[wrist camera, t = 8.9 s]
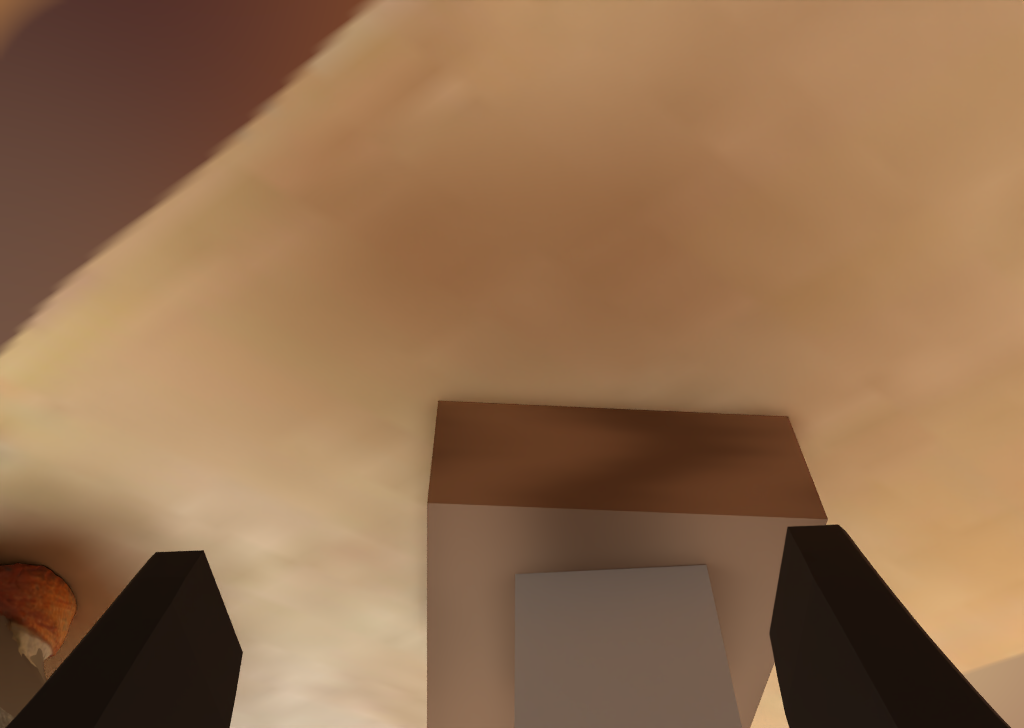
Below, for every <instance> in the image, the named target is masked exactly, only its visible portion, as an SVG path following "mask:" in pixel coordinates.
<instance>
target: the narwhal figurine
mask: <svg viewBox="0 0 1024 728" xmlns="http://www.w3.org/2000/svg"><path fill="white" fill-rule="evenodd" d="M76 608H77V606H76V600H75V598H74V595H73V593H72V592H71V589H70V588H69V587H68V585H67V584H66V583H65V581H64V580H63V579H62V578H60V577H58V576H56V575H55V574H54V573H53V572H52V571H51V570H50V569H48V568H46V567H44V566H41V565H38V566H34V565H28V564H20V563H16V564H14V565H0V728H5V727H6V726H7V725H8V724H9V723H10V722H11V721H12V720H13V719H14V718H15V717H16V715H17V714H18V713H19V712H20V711H21V710H22V709H23V708H24V707H25V705H26V704H27V703H28V702H29V701H30V700H31V699H32V697H33V696H34V695H35V694H36V693H37V692H38V690H39V689H40V688H41V687H42V686H43V685H44V684H45V682H46V681H47V680H46V676H45V673H44V660H45V659H46V658H48V657H51V656H54V655H55V654H56V653H57V651H58V650H59V648H60V647H61V645H62V644H63V642H64V639H65V637H66V635H67V632H68V628H69V625H70V623H71V621H72V618H73V616H74V615H75V613H76Z"/></svg>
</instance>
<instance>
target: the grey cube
mask: <svg viewBox="0 0 1024 728" xmlns="http://www.w3.org/2000/svg"><path fill="white" fill-rule="evenodd" d="M514 728H742V725H741V721H740V716H739V712H738V707H737V702H736V698H735V693H734V689H733V684H732V680H731V675H730V670H729V666H728V661H727V657H726V652H725V648H724V643H723V638H722V634H721V629H720V625H719V620H718V615H717V611H716V606H715V602H714V597H713V593H712V588H711V583H710V579H709V574H708V570H707V565H692V566H672V567H651V568H631V569H610V570H590V571H569V572H549V573H528V574H515V724H514Z"/></svg>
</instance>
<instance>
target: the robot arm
mask: <svg viewBox="0 0 1024 728" xmlns="http://www.w3.org/2000/svg"><path fill="white" fill-rule="evenodd" d="M769 635H770V640H771V645H772V651H773V656H774V661H775V666H776V672H777V677H778V682H779V686H780V691H781V696H782V701H783V705H784V710H785V715H786V718H787V721H788V725H789V728H1011V727H1010V726H1009V725H1008V724H1007V723H1006V722H1005V721H1004V720H1003V719H1002V718H1001V717H1000V716H999V715H998V714H997V713H996V711H995V710H994V709H993V708H992V707H991V706H990V705H989V704H988V703H987V702H986V700H985V699H984V698H983V697H982V696H981V695H980V694H979V693H978V692H977V691H976V690H975V688H974V687H973V686H972V685H971V684H970V683H969V682H968V680H967V679H966V678H965V677H964V676H963V675H962V674H961V672H960V671H959V670H958V669H957V668H956V667H955V666H954V664H953V663H952V662H951V661H950V660H949V659H948V658H947V656H946V655H945V654H944V653H943V652H942V651H941V650H940V648H939V647H938V646H937V645H936V644H935V643H934V642H933V640H932V639H931V638H930V637H929V636H928V634H927V633H926V632H925V631H924V630H923V628H922V627H921V626H920V625H919V624H918V622H917V621H916V620H915V619H914V618H913V616H912V615H911V614H910V613H909V611H908V610H907V609H906V608H905V606H904V605H903V604H902V603H901V602H900V600H899V599H898V598H897V597H896V595H895V594H894V593H893V592H892V590H891V589H890V588H889V587H888V585H887V584H886V583H885V582H884V580H883V579H882V578H881V577H880V575H879V574H878V573H877V571H876V570H875V569H874V568H873V566H872V565H871V564H870V562H869V561H868V560H867V558H866V557H865V556H864V555H863V553H862V552H861V551H860V549H859V548H858V547H857V545H856V544H855V543H854V541H853V540H852V539H851V537H850V536H849V535H848V534H847V532H846V531H845V530H844V529H843V528H842V527H840V526H839V525H816V526H791V527H787V532H786V538H785V544H784V550H783V555H782V561H781V567H780V573H779V579H778V585H777V591H776V596H775V602H774V608H773V614H772V620H771V626H770V632H769ZM242 654H243V652H242V649H241V647H240V644H239V642H238V639H237V636H236V634H235V631H234V628H233V626H232V623H231V621H230V618H229V615H228V613H227V610H226V608H225V605H224V602H223V600H222V597H221V595H220V592H219V589H218V587H217V584H216V582H215V579H214V576H213V574H212V571H211V569H210V566H209V563H208V561H207V558H206V555H205V553H204V550H202V551H178V552H156V553H155V554H154V555H153V556H152V557H151V558H150V559H149V560H148V561H147V563H146V564H145V565H144V566H143V567H142V568H141V570H140V571H139V572H138V573H137V574H136V576H135V577H134V578H133V579H132V580H131V582H130V583H129V584H128V585H127V586H126V588H125V589H124V590H123V591H122V592H121V594H120V595H119V596H118V597H117V598H116V600H115V601H114V602H113V603H112V604H111V606H110V607H109V608H108V609H107V611H106V612H105V613H104V614H103V615H102V617H101V618H100V619H99V620H98V621H97V623H96V624H95V625H94V626H93V627H92V629H91V630H90V631H89V632H88V633H87V635H86V636H85V637H84V638H83V639H82V640H81V642H80V643H79V644H78V645H77V646H76V648H75V649H74V650H73V651H72V652H71V654H70V655H69V656H68V657H67V658H66V659H65V661H64V662H63V663H62V664H61V665H60V666H59V667H58V669H57V670H56V671H55V672H54V673H53V674H52V675H51V677H50V678H49V679H48V680H47V681H46V682H45V684H44V685H43V686H42V687H41V688H40V689H39V690H38V692H37V693H36V694H35V695H34V696H33V697H32V699H31V700H30V701H29V702H28V703H27V704H26V705H25V707H24V708H23V709H22V710H21V711H20V712H19V713H18V714H17V715H16V717H15V718H14V719H13V720H12V721H11V722H10V723H9V724H8V725H7V726H6V727H5V728H230V722H231V717H232V712H233V707H234V701H235V696H236V690H237V684H238V678H239V672H240V666H241V660H242Z"/></svg>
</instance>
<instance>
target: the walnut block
mask: <svg viewBox="0 0 1024 728" xmlns="http://www.w3.org/2000/svg"><path fill="white" fill-rule="evenodd" d="M827 520H828V518H827V516H826V513H825V511H824V508H823V506H822V503H821V500H820V498H819V495H818V493H817V490H816V488H815V485H814V482H813V480H812V477H811V475H810V472H809V469H808V467H807V464H806V462H805V459H804V457H803V454H802V451H801V449H800V446H799V444H798V441H797V439H796V436H795V433H794V431H793V428H792V426H791V423H790V421H789V418H788V417H784V416H762V415H740V414H718V413H696V412H674V411H652V410H630V409H607V408H585V407H563V406H541V405H519V404H497V403H475V402H453V401H438V409H437V418H436V428H435V437H434V446H433V455H432V465H431V474H430V483H429V493H428V502H427V728H514V724H515V574H528V573H549V572H569V571H590V570H610V569H631V568H651V567H672V566H692V565H707V570H708V574H709V579H710V583H711V588H712V593H713V597H714V602H715V606H716V611H717V615H718V620H719V625H720V629H721V634H722V638H723V643H724V648H725V652H726V657H727V661H728V666H729V670H730V675H731V680H732V684H733V689H734V693H735V698H736V702H737V707H738V712H739V716H740V721H741V725H742V728H750V726H751V724H752V721H753V718H754V716H755V713H756V710H757V708H758V705H759V702H760V700H761V697H762V694H763V692H764V689H765V686H766V684H767V681H768V678H769V676H770V673H771V670H772V668H773V665H774V662H775V661H774V656H773V651H772V645H771V640H770V635H769V632H770V626H771V620H772V614H773V608H774V602H775V596H776V591H777V585H778V579H779V573H780V567H781V561H782V555H783V550H784V544H785V538H786V532H787V527H791V526H816V525H826V523H827Z"/></svg>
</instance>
